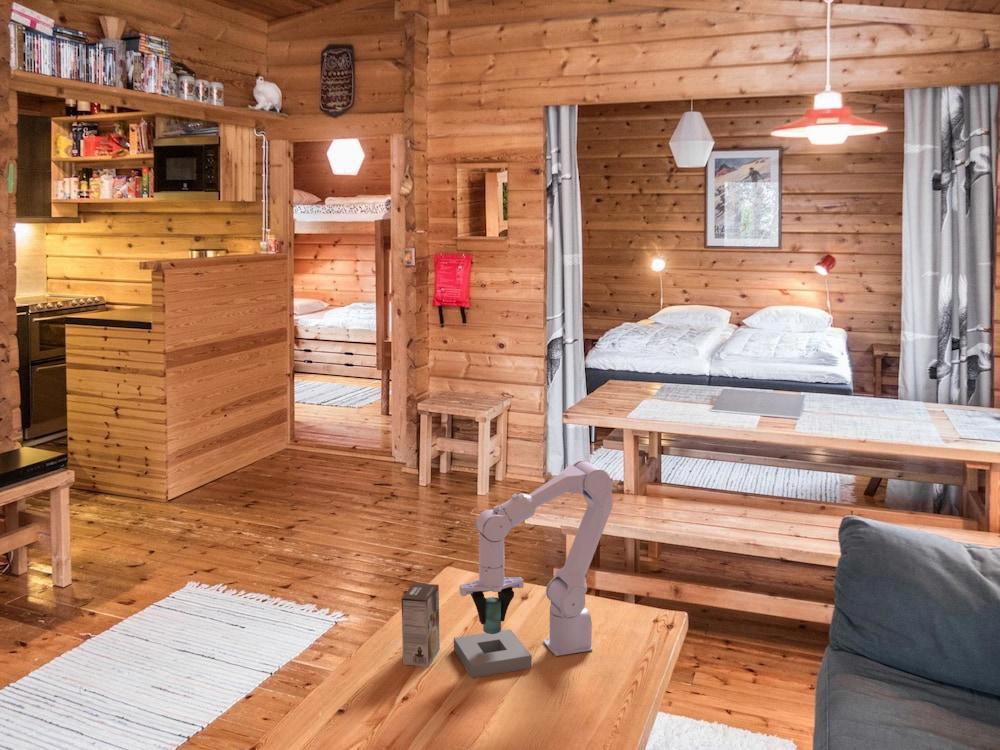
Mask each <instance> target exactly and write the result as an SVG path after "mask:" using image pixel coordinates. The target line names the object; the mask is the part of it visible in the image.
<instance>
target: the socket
mask: <svg viewBox="0 0 1000 750" xmlns="http://www.w3.org/2000/svg"><path fill="white" fill-rule="evenodd" d="M453 651H454V652H455V654H456V655H457V657H458V659H459V660H460V662H461V663H462V665H463V666H464V668H465V670H466V671H467V673H468V674H469V676H470V678H471V679H472V678H473V679H474V678H478V677H479V678H480V677H486V676H492V675H497V674H503V673H509V672H514V671H520V670H521V671H522V670H526V669H532V664H533V663H532V654H531V653H530V652H529V650H528V648H526V646H525V645H524V644H523V642H521V640H520V639H519V637H517V636H516V634H515V633H514V631H513V630H512V629H511V628H510V629H501V631H500V632H499V633H496V634H488V633H485V632H483V633H477V634H469V635H463V636H457V637H453Z"/></svg>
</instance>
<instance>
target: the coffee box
mask: <svg viewBox="0 0 1000 750" xmlns="http://www.w3.org/2000/svg"><path fill="white" fill-rule="evenodd" d="M439 586H440V584H434V583H433V584H431V583H430V584H429V583H415V582H413V583H412V584H411V585H410V586H409V587H408V589H407V591H406V592H405V593H404V594H403V596H402V597H401V599H400V600H401V628H402V630H401V632H402V633H401V635H402V637H401V638H402V641H401V642H402V664H403V665H404V664H405V665H406V666H414V665H415V667H426V668H429V667H430V665H431V664H432V662H433V661H434V659H435V658H436V655H437V654H438V652H439V651H440V649H441V648H440V597H439V595H440V594H439V591H440V589H439ZM405 665H404V666H405Z"/></svg>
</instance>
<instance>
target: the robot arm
mask: <svg viewBox="0 0 1000 750" xmlns="http://www.w3.org/2000/svg"><path fill="white" fill-rule="evenodd" d="M613 487H614V481H613V480H612V478H611V477H610V475H609V473H608V472H607V471H605V470H604V469H601V468H599V467H598V466H596V465H594V464H593V463H592V462H591V461H589V460H586V459H581V460H577V461H576V462H574V464H570V465H568V466H566V467H565V469H564V470H563V471H562V472H560V473H559V474H558V475H556V476H555V477H553V478H552V479H550V480H548V481H547V482H546V483H544V484H542V485H541V486H539V487H538V488H536V489H534V490H533V491H532V492H530V493H528V494H527V493H522V492H520V493H519V494H517V493H513V494H512V495H511V498H510V499H508V500H507V501H505V502H503V503H502V504H500V505H497V504H496V505H495V506H493V509H485V510H483V511H482V512H480V513H479V514H478V516H477V519H476V521H475V522H474V525H475V528H476V529H477V531H478V532H479V534H478V539H479V541H478V542H479V543H478V580H475V581H474V580H473V581H471V582H468V583H463V584H459V594H460V595H461V596H462V597H467V596H468V595H470V596H471V598H472V600H473V602H474V605H475V608H476V611H477V614H478V621H479V623H480V624H481V625H483V624H485V605H486V598H487V597H486V596H485V594H484V593H487V592H493V593H497V598H499V599H500V600H501V623H502V622H505V619H506V614H507V611H508V609H509V606H510V603H511V602H512V600H513V599H514V596H515V591H514V590H513V589H516V588H518V589H524V579H523V578H522V577H521V576H519V577H517V576H516V577H505V566H506V565H505V564H506V563H505V549H506V548H505V538H506V537H507V535H508V534H509V531H511V530H512V529H513V528H515V527H516V526H518V525H520V524H521V523H523V522H525V521H526V520H529V519H530V518H532V517H533V516H534V515H535V514H536V510H537V508H538V507H541V506H542V505H544V504H547V503H548V502H551V501H553V500H554V499H556V498H558V497H560V496H562V495H563V494H566V493H573V494H579V495H583V498H584V500H585V501H586V503H587V504H586V505H587V506H586V508H585V511H584V514H583V517H582V519H581V522H580V524H579V527H578V529H577V531H576V535H575V537H574V540H573V542H572V545H571V548H570V550H569V552H568V555H567V557H566V560H565V563H564V565H563V567H561V568H559V569H558V570H557V571H555V574H554V576H553V578H552V579H550V581H548V583H547V585H546V588H545V594H546V597H547V599H548V600H549V601H550V607H549V638H546V639H545V638H544V639H543V641H542V642H543V643H544V644H545V645H546V647H547V648H548V649H549V651H550V652H551V653H552V654H553V655H554V656H556V657H560V656H565V655H566V656H567V655H570V654H577V653H584V652H589V651H593V647H592V637H593V636H592V629H593V628H592V625H593V623H592V617H591V614H590V611H589V609H588V608H586V607H585V606H586V593H587V591H588V584H587V579H586V576H587V573H588V571H589V568H590V566H591V563H592V561H593V558H594V555H595V553H596V550H597V548H598V546H599V542H600V539H601V537H602V534H603V532H604V530H605V528H606V524H607V521H608V520H609V517H610V514H611V511H612V509H613V505H614V504H613V491H612V489H613Z"/></svg>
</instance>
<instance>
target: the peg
mask: <svg viewBox="0 0 1000 750" xmlns="http://www.w3.org/2000/svg"><path fill="white" fill-rule="evenodd" d="M485 598H486V605H485V624H482V627H483V629H482V630H483V633H488V634H496V633H499V632H500V631H502V622H501V600H500V599H499V598H498V597H495V596H491V597H485Z"/></svg>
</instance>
